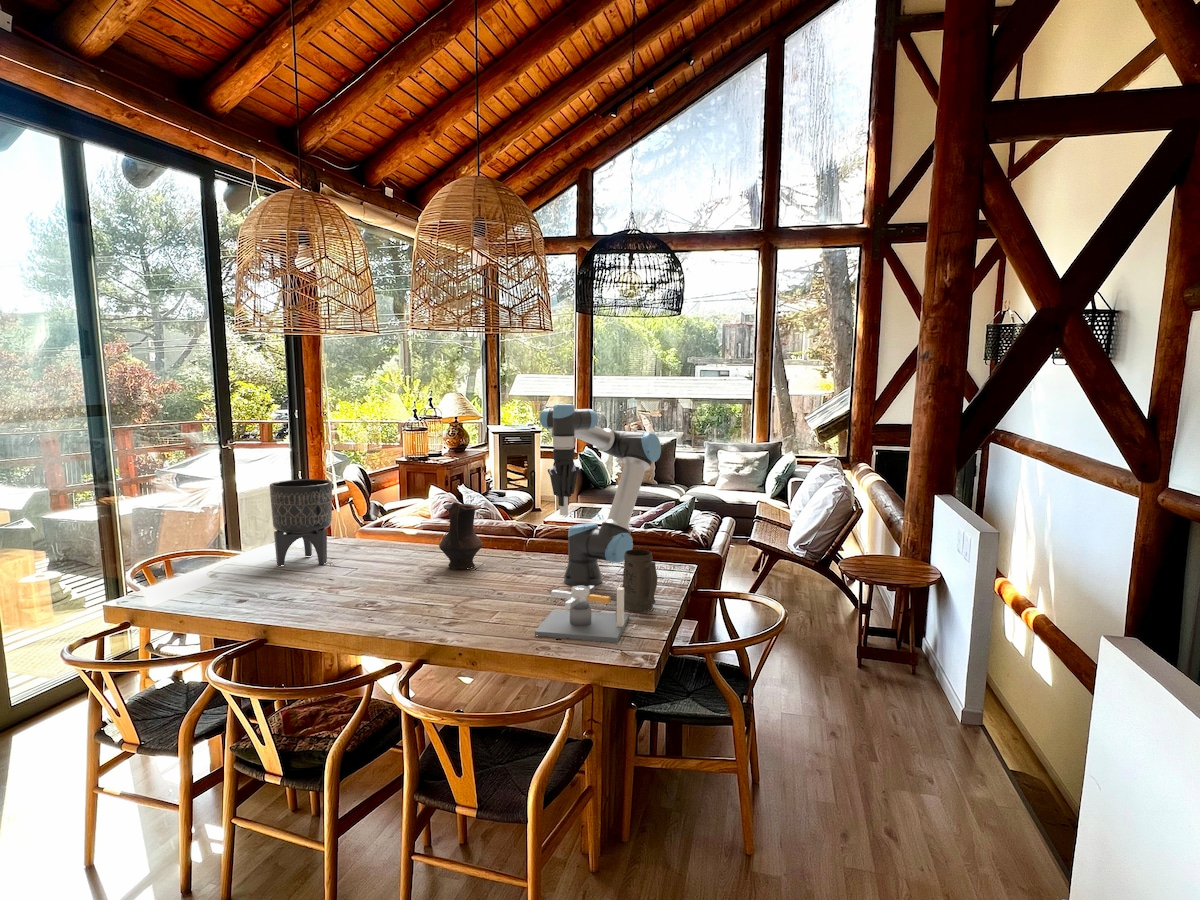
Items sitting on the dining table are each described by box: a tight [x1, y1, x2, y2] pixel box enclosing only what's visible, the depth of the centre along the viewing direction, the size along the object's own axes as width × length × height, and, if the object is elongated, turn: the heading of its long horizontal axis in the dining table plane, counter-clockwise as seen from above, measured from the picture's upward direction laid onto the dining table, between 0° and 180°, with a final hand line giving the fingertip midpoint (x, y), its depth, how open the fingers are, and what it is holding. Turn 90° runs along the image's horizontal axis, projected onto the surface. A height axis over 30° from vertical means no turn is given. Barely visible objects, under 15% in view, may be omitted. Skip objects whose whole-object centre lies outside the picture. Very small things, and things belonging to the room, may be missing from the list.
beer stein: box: [622, 548, 658, 612], centre depth 238 cm, size 15×11×20 cm
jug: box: [438, 501, 484, 570], centre depth 290 cm, size 21×18×30 cm
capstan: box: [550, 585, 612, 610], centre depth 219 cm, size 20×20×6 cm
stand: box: [534, 586, 630, 643], centre depth 219 cm, size 22×26×14 cm
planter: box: [269, 478, 333, 567], centre depth 298 cm, size 25×25×36 cm
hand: (563, 514), depth 239 cm, fingers closed
